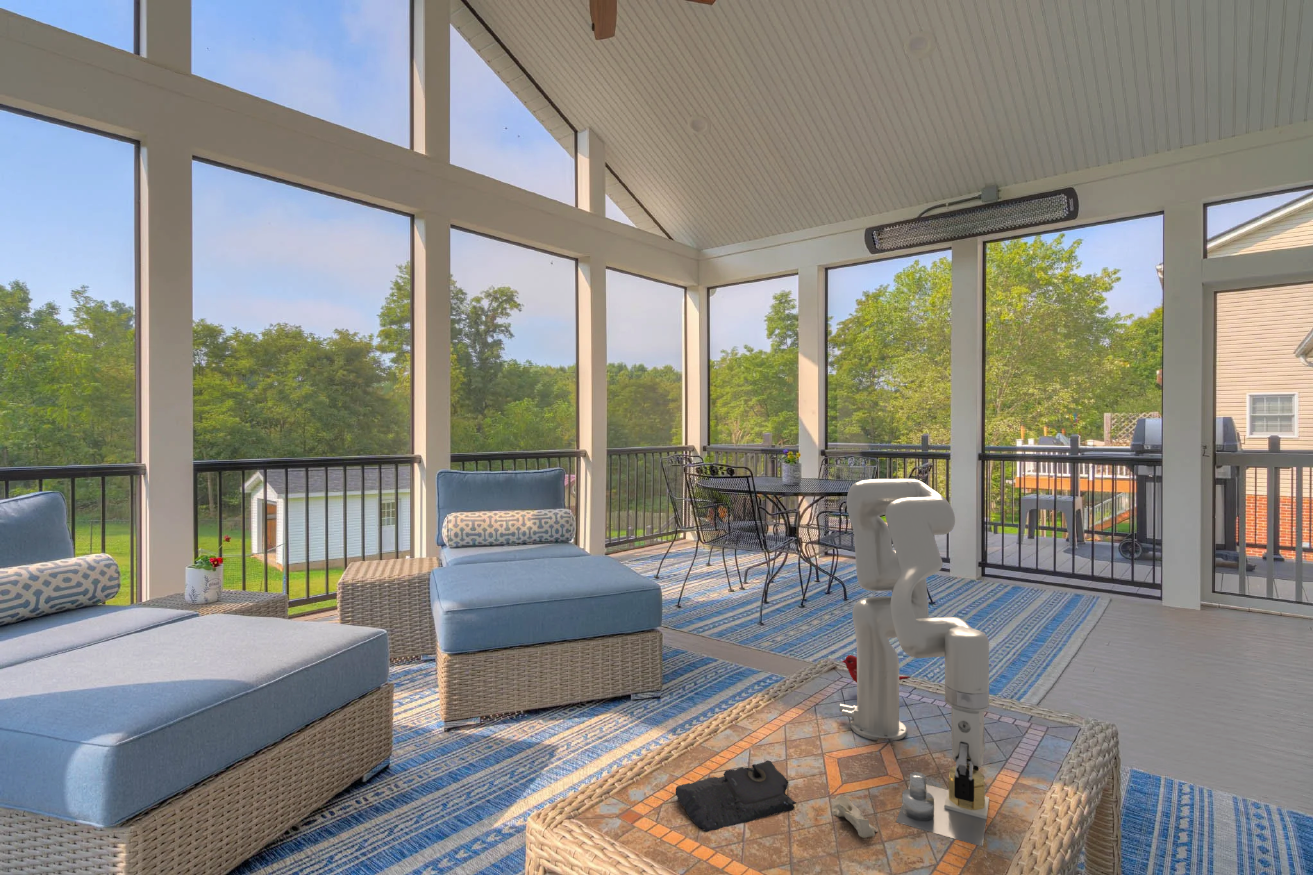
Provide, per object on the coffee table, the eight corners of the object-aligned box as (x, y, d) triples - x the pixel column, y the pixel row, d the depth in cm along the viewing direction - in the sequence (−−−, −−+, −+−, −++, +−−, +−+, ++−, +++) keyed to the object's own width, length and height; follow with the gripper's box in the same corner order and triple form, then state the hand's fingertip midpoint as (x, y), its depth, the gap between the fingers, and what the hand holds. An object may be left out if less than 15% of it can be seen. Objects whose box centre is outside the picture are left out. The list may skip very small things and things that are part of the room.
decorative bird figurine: (842, 688, 181) (842, 652, 181) (910, 698, 174) (910, 660, 174) (841, 692, 178) (841, 655, 178) (910, 702, 171) (910, 664, 171)
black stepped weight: (665, 793, 129) (665, 770, 129) (760, 770, 138) (760, 748, 138) (701, 838, 115) (701, 811, 115) (804, 809, 124) (804, 784, 124)
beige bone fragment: (848, 808, 123) (848, 784, 123) (884, 840, 114) (884, 814, 114) (823, 813, 122) (822, 790, 122) (857, 847, 112) (857, 821, 112)
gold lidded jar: (983, 812, 118) (983, 781, 118) (947, 803, 121) (947, 772, 121) (985, 796, 124) (985, 766, 124) (951, 788, 127) (950, 758, 127)
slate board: (895, 827, 117) (895, 821, 117) (911, 785, 131) (911, 780, 131) (982, 852, 110) (982, 846, 110) (989, 805, 124) (989, 800, 124)
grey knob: (899, 815, 119) (899, 778, 119) (905, 801, 123) (905, 765, 123) (931, 824, 116) (931, 786, 116) (935, 809, 121) (935, 772, 121)
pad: (944, 807, 121) (944, 804, 121) (948, 790, 127) (949, 787, 127) (986, 819, 118) (986, 815, 118) (989, 800, 124) (989, 797, 124)
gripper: (985, 717, 113) (985, 815, 113) (992, 684, 128) (992, 771, 128) (938, 708, 117) (939, 803, 117) (950, 677, 132) (950, 761, 132)
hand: (966, 786), depth 122 cm, fingers open, 9 cm apart
